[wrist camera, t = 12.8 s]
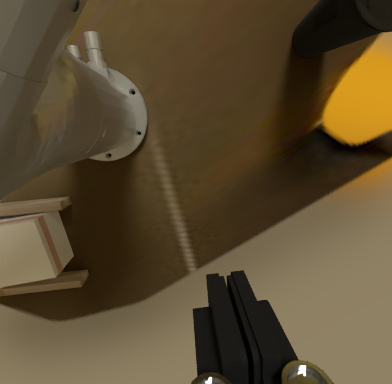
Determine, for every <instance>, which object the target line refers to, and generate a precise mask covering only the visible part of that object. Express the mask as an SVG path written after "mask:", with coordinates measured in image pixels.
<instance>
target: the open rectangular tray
mask: <svg viewBox="0 0 392 384" xmlns="http://www.w3.org/2000/svg"><path fill="white" fill-rule="evenodd" d="M70 204H71V201H70V197H69V196H68V197H58V198H48V199H38V200H27V201H17V202H7V203H0V216H9V215H19V214H29V213H39V212H49V211H59V210H63V209H64V208H66V207H67V206H69V205H70ZM88 276H89V273H88V269H86V270H77V271H68V272H61V273H60V274H59V275H58V276H57V277H56V278H50V279H45V280H39V281H34V282H28V283H23V284H17V285H12V286H6V287H1V288H0V296H7V295H16V294H24V293H33V292H42V291H50V290H59V289H68V288H77V287H82V286H83V284H84V283H85V281H86V279H87V278H88Z"/></svg>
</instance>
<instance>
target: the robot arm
mask: <svg viewBox="0 0 392 384" xmlns="http://www.w3.org/2000/svg"><path fill="white" fill-rule="evenodd" d="M86 2H87V0H0V201H2V200H3V199H5V198H6V197H8V196H9V195H11V194H12V193H14V192H15V191H17V190H18V189H20V188H21V187H22V186H24V185H25V184H27V183H28V182H30V181H31V180H33V179H34V178H36V177H38V176H40V175H41V174H43V173H45V172H48V171H50V170H53V169H55V168H58V167H61V166H64V165H68V164H71V163H74V162H77V161H80V160H83V159H86V158H90V159H94V160H98V161H113V160H118V159H121V158H123V157H125V156H127V155H129V154H130V153H132V152H133V151H134V150H135V149H136V148H137V147H138V146H139V145H140V143H141V142H142V140H143V138H144V136H145V133H146V130H147V124H148V113H147V108H146V104H145V102H144V99H143V97H142V95H141V93H140V92H139V90H138V89H137V87H136V86H135V85H134V84H133V83H132V82H131V81H130V80H129V79H128V78H127V77H125V76H124V75H122V74H121V73H119V72H117V71H115V70H113V69H110V68H108V64H107V63H106V62H104V59H103V53H102V52H103V47H102V42H101V36H100V34H99V33H97V32H92V31H89V32H85V33H83V35H84V40H85V45H86V50H87V51H88V56H89V62H87V64H86V63H84V62H83V61H81V54H80V49H79V47H78V46H75V45H70V46H67V49H68V51H67V50H65V49H63V47H64V45H65V43H66V41H67V39H68V37H69V36H70V34H71V32H72V30H73V28H74V26H75V24H76V22H77V20H78V18H79V16H80V14H81V12H82V10H83V8H84V6H85V4H86ZM133 91H135V94H134V95H133V94H132V92H133ZM138 132H141V135H138ZM109 153H110V154H111V155H112V156H111V157H110V156H109ZM206 278H207V290H208V303H209V307H203V308H195V309H193V319H194V333H195V347H196V361H197V375H198V376H197V378H195V379H194V380H193V381H192V383H191V384H334V383H333V382H332V380H331V379H330V378H329V377H328V376H327V375H326V373H325V372H324V371H323V370H322V369H320V368H319V367H317V366H316V365H314V364H312V363H310V362H307V361H301V360H298V358H297V356H296V354H295V352H294V350H293V348H292V346H291V344H290V342H289V340H288V339H287V337H286V335H285V333H284V331H283V329H282V327H281V325H280V323H279V321H278V319H277V317H276V315H275V313H274V311H273V309H272V307H271V305H270V303H269V302H268V301H267V300H261V301H257V299H256V297H255V295H254V293H253V291H252V288H251V286H250V284H249V282H248V279H247V277H246V275H245V273H244V271H243V270H242V271H234V272H231V275H229V276H227V286H226V283H225V279H224V276H220V277H219V274H217V273H216V274H208V275H206Z"/></svg>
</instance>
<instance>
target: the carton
mask: <svg viewBox="0 0 392 384" xmlns="http://www.w3.org/2000/svg"><path fill="white" fill-rule="evenodd" d="M73 256H74V254H73V252H72V249H71V246H70V243H69V240H68V237H67V235H66V232H65V229H64V226H63V223H62V220H61V218H60V215H59V212H58V211H49V212H39V213H29V214H19V215H9V216H0V288H1V287H6V286H12V285H17V284H23V283H28V282H34V281H39V280H45V279H50V278H56V277H57V276H58V275H59V274H60V273H61V272H62V270H63V268H64V267H65V266H66V265H67V264H68V262H69V261H70V260H71V259H72V258H73Z"/></svg>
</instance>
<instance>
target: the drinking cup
mask: <svg viewBox="0 0 392 384" xmlns="http://www.w3.org/2000/svg"><path fill="white" fill-rule="evenodd" d="M381 32H392V0H320V1H319V2H318V3H317V4H316V5H315V6H314V7H313V9H312V10H311V11H310V12H309V13H308V14H307V15H306V16H305V18H304V19H303V20H302V21H301V22H300V23H299V24H298V26H297V27H296V29H295V31H294V34H293V46H294V49H295V51H296V52H297V53H298V54H299V55H300V56H302V57H313V56H316V55H319V54H321V53H324V52H327V51H330V50H333V49H336V48H338V47H341V46H344V45H347V44H350V43H353V42H356V41H358V40H361V39H364V38H367V37H370V36H373V35H376V34H378V33H381Z"/></svg>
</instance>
